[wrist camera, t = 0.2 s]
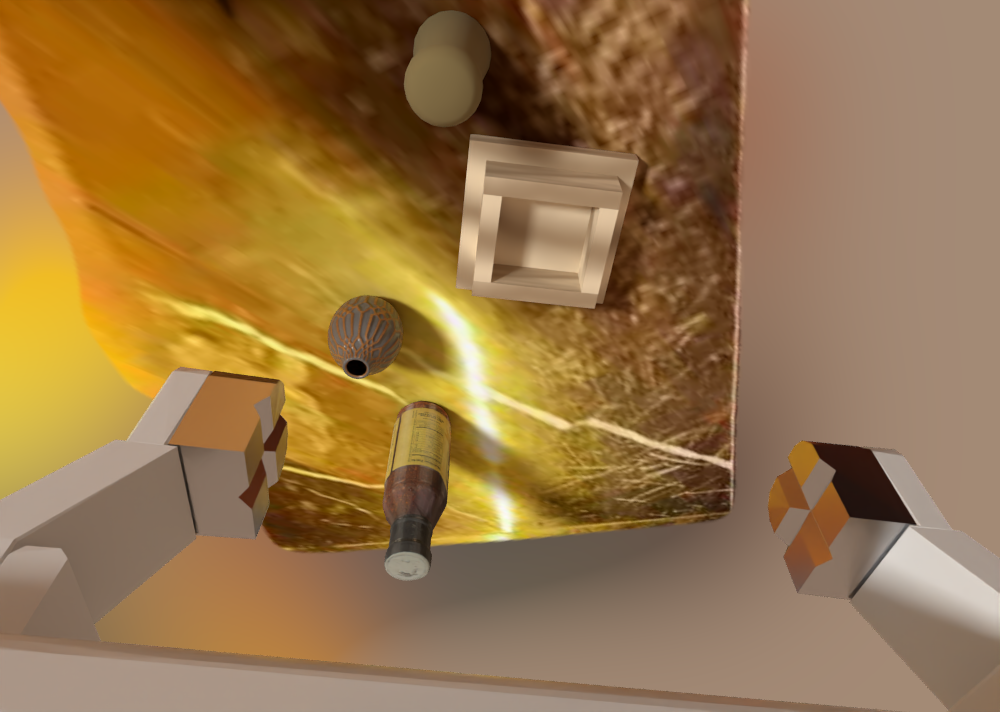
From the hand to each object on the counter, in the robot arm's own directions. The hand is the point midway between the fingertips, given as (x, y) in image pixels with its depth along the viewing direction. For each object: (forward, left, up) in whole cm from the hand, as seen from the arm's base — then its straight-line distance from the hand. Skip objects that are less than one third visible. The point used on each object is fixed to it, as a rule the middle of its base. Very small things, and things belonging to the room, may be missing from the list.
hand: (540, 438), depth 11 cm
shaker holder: (+18, +5, -48) cm, 51 cm away
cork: (+5, -4, -48) cm, 48 cm away
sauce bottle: (+43, -4, -48) cm, 65 cm away
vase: (+30, -10, -48) cm, 57 cm away
